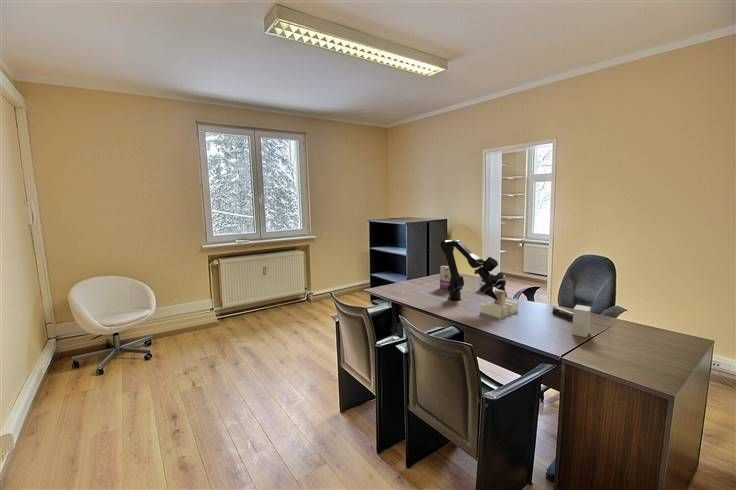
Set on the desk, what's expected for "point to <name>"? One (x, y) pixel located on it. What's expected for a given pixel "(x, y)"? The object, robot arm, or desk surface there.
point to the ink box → (480, 282)
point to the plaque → (500, 297)
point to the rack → (499, 309)
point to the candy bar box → (444, 277)
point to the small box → (581, 320)
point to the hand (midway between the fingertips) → (501, 298)
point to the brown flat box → (563, 313)
